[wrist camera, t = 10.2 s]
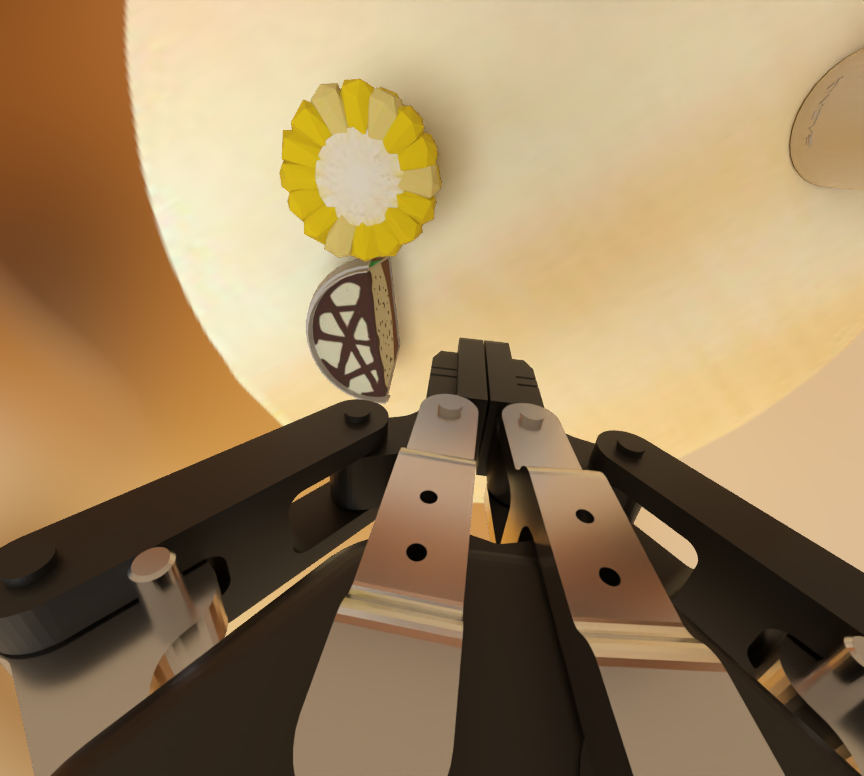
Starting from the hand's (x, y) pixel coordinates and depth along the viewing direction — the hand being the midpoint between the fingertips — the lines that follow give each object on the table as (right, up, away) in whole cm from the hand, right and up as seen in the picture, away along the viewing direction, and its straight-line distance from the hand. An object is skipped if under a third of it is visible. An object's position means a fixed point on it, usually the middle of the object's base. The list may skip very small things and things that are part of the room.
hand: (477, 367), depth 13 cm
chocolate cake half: (-8, +8, +28) cm, 31 cm away
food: (-5, +18, +22) cm, 29 cm away
